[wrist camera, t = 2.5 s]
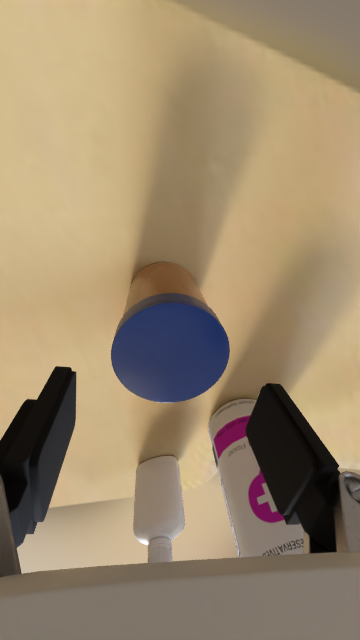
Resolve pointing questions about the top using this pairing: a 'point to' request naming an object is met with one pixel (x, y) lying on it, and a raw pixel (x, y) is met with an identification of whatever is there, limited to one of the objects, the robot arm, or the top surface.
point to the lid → (169, 348)
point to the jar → (162, 283)
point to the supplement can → (248, 488)
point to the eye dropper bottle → (158, 506)
